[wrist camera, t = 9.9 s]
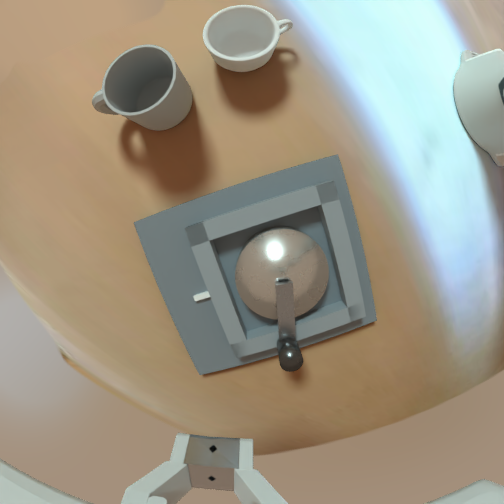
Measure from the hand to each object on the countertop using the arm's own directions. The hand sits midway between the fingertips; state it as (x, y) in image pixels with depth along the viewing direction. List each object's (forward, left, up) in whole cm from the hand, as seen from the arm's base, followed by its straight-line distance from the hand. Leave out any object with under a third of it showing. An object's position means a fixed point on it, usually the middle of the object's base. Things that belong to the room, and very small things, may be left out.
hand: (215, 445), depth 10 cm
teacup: (-10, -25, -26) cm, 37 cm away
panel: (-3, +1, -25) cm, 25 cm away
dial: (-4, +3, -24) cm, 24 cm away
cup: (+3, -22, -25) cm, 34 cm away
